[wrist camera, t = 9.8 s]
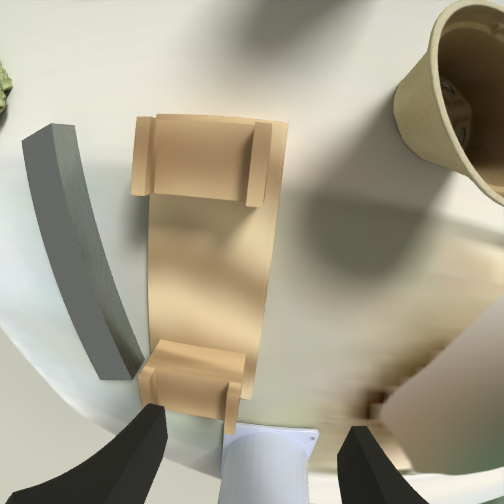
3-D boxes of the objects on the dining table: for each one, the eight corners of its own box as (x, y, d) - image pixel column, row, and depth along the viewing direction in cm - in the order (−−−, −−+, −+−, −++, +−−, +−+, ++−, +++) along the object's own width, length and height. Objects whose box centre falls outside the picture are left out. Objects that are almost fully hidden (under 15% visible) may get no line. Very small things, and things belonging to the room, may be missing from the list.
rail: (146, 356, 23) (132, 379, 20) (115, 358, 23) (100, 379, 20) (77, 125, 18) (51, 123, 15) (47, 140, 18) (21, 141, 15)
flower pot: (365, 182, 18) (432, 201, 9) (362, 37, 15) (414, -31, 7) (483, 195, 17) (571, 220, 9) (481, 68, 14) (560, 43, 6)
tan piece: (251, 392, 22) (246, 442, 17) (156, 376, 23) (133, 420, 18) (287, 124, 17) (293, 110, 12) (161, 115, 17) (123, 102, 12)
